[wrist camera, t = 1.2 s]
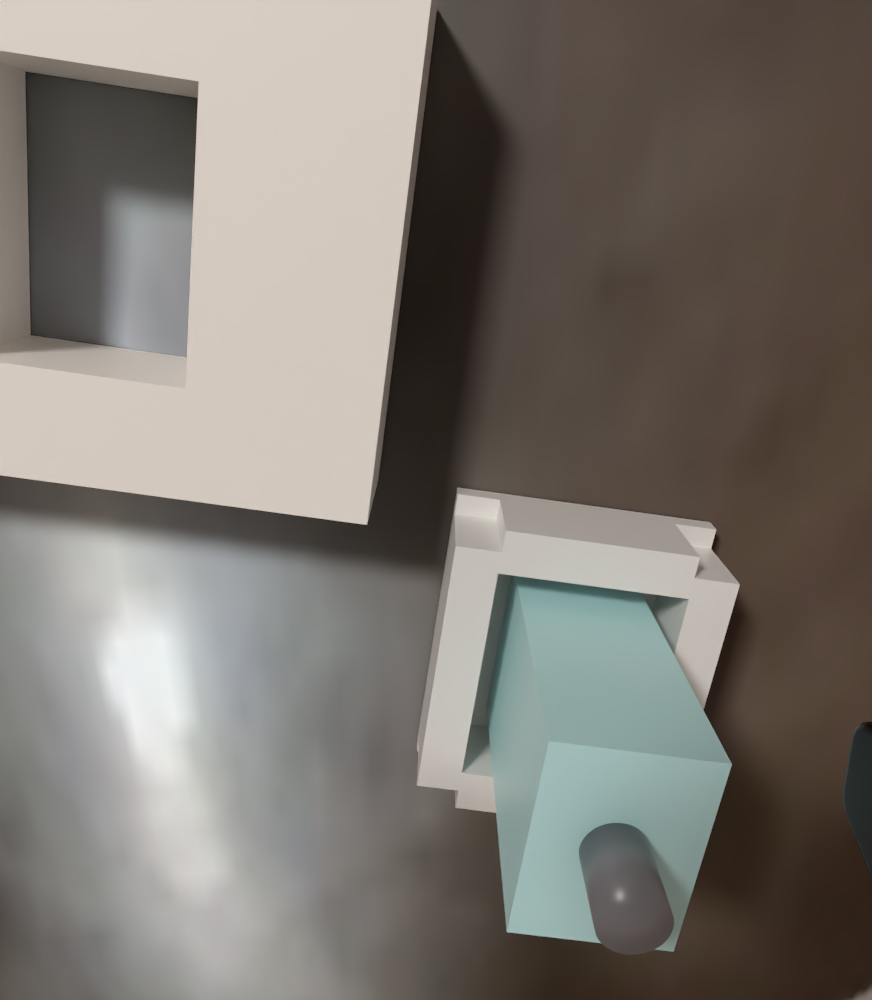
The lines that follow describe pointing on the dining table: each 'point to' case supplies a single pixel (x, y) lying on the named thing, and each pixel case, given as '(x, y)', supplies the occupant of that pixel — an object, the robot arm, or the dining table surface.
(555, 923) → the plug
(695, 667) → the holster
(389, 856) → the dining table surface
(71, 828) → the dining table surface
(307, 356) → the socket block
